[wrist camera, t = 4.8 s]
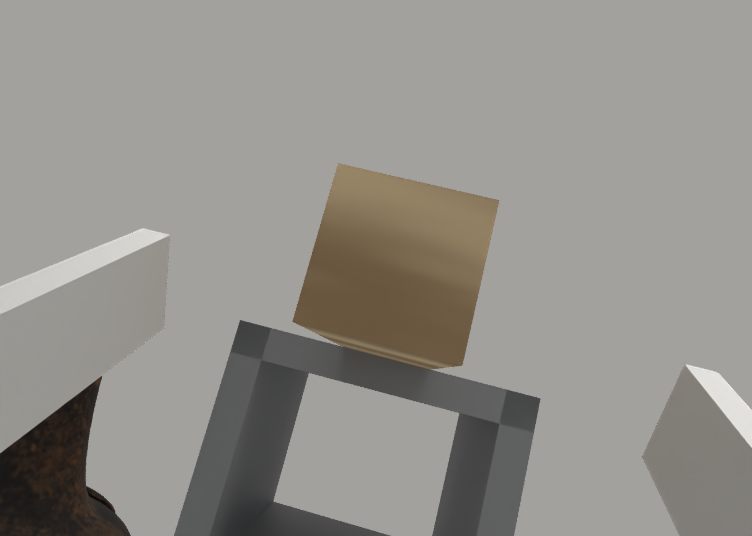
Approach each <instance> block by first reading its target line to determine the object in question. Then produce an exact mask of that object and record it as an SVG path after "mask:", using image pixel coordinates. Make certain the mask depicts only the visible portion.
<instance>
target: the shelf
mask: <svg viewBox="0 0 752 536" xmlns="http://www.w3.org/2000/svg"><path fill="white" fill-rule="evenodd" d="M309 373H312V374H315V375H319V376H323V377H327V378H330V379H334V380H338V381H342V382H345V383H349V384H353V385H357V386H360V387H364V388H368V389H372V390H375V391H379V392H383V393H387V394H390V395H394V396H398V397H402V398H405V399H409V400H413V401H416V402H420V403H424V404H428V405H431V406H435V407H439V408H443V409H446V410H450V411H454V412H458V413H459V418H458V422H457V427H456V431H455V436H454V440H453V445H452V449H451V454H450V458H449V463H448V467H447V472H446V476H445V481H444V485H443V490H442V495H441V499H440V504H439V508H438V513H437V517H436V522H435V526H434V531H433V535H432V536H514V532H515V527H516V522H517V517H518V511H519V506H520V501H521V496H522V491H523V485H524V481H525V475H526V470H527V465H528V460H529V455H530V449H531V444H532V439H533V434H534V429H535V424H536V418H537V413H538V408H539V403H540V398H537V397H533V396H529V395H525V394H521V393H517V392H513V391H510V390H506V389H502V388H498V387H494V386H491V385H487V384H483V383H479V382H475V381H471V380H467V379H464V378H460V377H456V376H452V375H448V374H444V373H441V372H437V371H433V370H429V369H425V368H422V367H418V366H414V365H410V364H406V363H402V362H399V361H395V360H391V359H387V358H383V357H379V356H376V355H372V354H368V353H364V352H360V351H356V350H353V349H349V348H345V347H341V346H337V345H333V344H330V343H326V342H322V341H318V340H314V339H310V338H306V337H303V336H299V335H295V334H291V333H288V332H283V331H280V330H276V329H272V328H268V327H264V326H260V325H257V324H253V323H249V322H245V321H242V320H240V322H239V326H238V329H237V333H236V335H235V339H234V342H233V345H232V349H231V352H230V355H229V358H228V362H227V365H226V368H225V372H224V375H223V378H222V381H221V384H220V388H219V391H218V394H217V397H216V401H215V404H214V407H213V410H212V414H211V417H210V420H209V423H208V427H207V430H206V434H205V436H204V440H203V443H202V446H201V450H200V453H199V456H198V460H197V463H196V466H195V469H194V473H193V476H192V479H191V482H190V485H189V489H188V492H187V495H186V498H185V502H184V505H183V509H182V511H181V515H180V518H179V521H178V525H177V528H176V531H175V535H174V536H389V535H386V534H382V533H379V532H376V531H372V530H369V529H365V528H362V527H358V526H355V525H351V524H348V523H345V522H341V521H338V520H334V519H330V518H328V517H324V516H320V515H317V514H314V513H310V512H307V511H303V510H300V509H297V508H293V507H290V506H286V505H283V504H279V503H276V502H273V500H274V496H275V493H276V489H277V485H278V482H279V478H280V475H281V471H282V468H283V464H284V460H285V457H286V453H287V450H288V446H289V442H290V438H291V435H292V431H293V428H294V424H295V421H296V417H297V413H298V410H299V406H300V403H301V399H302V395H303V392H304V388H305V385H306V381H307V377H308V374H309Z"/></svg>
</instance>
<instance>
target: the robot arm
mask: <svg viewBox="0 0 752 536" xmlns="http://www.w3.org/2000/svg"><path fill="white" fill-rule="evenodd" d="M169 244H170V235H168V234H164V233H160V232H156V231H152V230H148V229H144V228H142V229H140V230H137V231H135V232H132V233H130V234H128V235H125V236H123V237H120V238H118V239H116V240H113V241H110V242H108V243H105V244H103V245H101V246H98V247H96V248H93V249H91V250H88V251H86V252H83V253H81V254H79V255H76V256H74V257H71V258H69V259H66V260H64V261H61V262H59V263H57V264H54V265H51V266H49V267H47V268H44V269H42V270H39V271H37V272H34V273H32V274H30V275H27V276H24V277H22V278H20V279H17V280H15V281H12V282H10V283H7V284H5V285H2V286H0V453H1V452H2V451H4V450H5V449H6V448H8V447H9V446H10V445H12V444H13V443H14V442H16V441H17V440H18V439H19V438H21V437H22V436H23V435H25V434H26V433H27V432H29V431H30V430H31V429H33V428H34V427H35V426H36V425H38V424H39V423H40V422H42V421H43V420H44V419H46V418H47V417H48V416H50V415H51V414H52V413H54V412H55V411H56V410H57V409H59V408H60V407H61V406H63V405H64V404H65V403H67V402H68V401H69V400H71V399H72V398H73V397H75V396H76V395H77V394H78V393H80V392H81V391H82V390H84V389H85V388H86V387H88V386H89V385H90V384H92V383H93V382H94V381H96V380H97V379H98V378H99V377H101V376H102V375H103V374H105V373H106V372H107V371H108V370H110V369H111V368H112V367H114V366H115V365H117V364H118V363H119V362H120V361H122V360H123V359H124V358H126V357H127V356H128V355H129V354H131V353H132V352H134V351H135V350H136V349H137V348H139V347H140V346H141V345H143V344H144V343H145V342H147V341H148V340H149V339H151V338H152V337H153V336H155V335H156V334H157V333H158V332H160V331H161V330H162V329H163V328H164V320H165V305H166V289H167V274H168V259H169ZM642 458H643V460H644V462H645V464H646V466H647V468H648V470H649V472H650V475H651V477H652V479H653V481H654V483H655V485H656V487H657V489H658V491H659V494H660V496H661V498H662V500H663V502H664V504H665V506H666V508H667V510H668V513H669V515H670V517H671V519H672V521H673V523H674V525H675V527H676V529H677V531H678V533H679V535H680V536H752V410H751V409H750V408H749V407H748V405H747V404H746V403H745V402H744V401H743V400H742V399H741V398H740V397H739V395H738V394H737V393H736V392H735V391H734V390H733V389H732V388H731V387H730V385H729V384H728V383H727V382H726V381H725V380H724V379H723V377H722V376H721V375H720V374H719V373H718V372H715V371H711V370H706V369H703V368H698V367H695V366H690V365H686V364H684V367H683V369H682V371H681V373H680V375H679V377H678V380H677V382H676V384H675V386H674V388H673V391H672V393H671V395H670V397H669V399H668V401H667V404H666V406H665V408H664V410H663V412H662V415H661V417H660V419H659V421H658V423H657V425H656V428H655V430H654V432H653V434H652V436H651V439H650V441H649V443H648V445H647V447H646V449H645V452H644V454H643V456H642Z"/></svg>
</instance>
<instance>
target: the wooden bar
mask: <svg viewBox="0 0 752 536" xmlns="http://www.w3.org/2000/svg"><path fill="white" fill-rule="evenodd" d="M498 204H499V200H496V199H491V198H487V197H482V196H478V195H474V194H469V193H465V192H461V191H456V190H452V189H448V188H443V187H439V186H435V185H430V184H426V183H422V182H417V181H413V180H408V179H404V178H400V177H395V176H391V175H387V174H382V173H378V172H373V171H369V170H365V169H361V168H356V167H352V166H347V165H343V164H338V165H337V169H336V172H335V176H334V179H333V183H332V186H331V190H330V193H329V197H328V200H327V203H326V207H325V211H324V214H323V217H322V221H321V224H320V228H319V231H318V235H317V239H316V242H315V245H314V249H313V252H312V256H311V259H310V262H309V266H308V269H307V273H306V276H305V280H304V283H303V287H302V290H301V294H300V297H299V301H298V304H297V308H296V311H295V315H294V318H293V322H294V323H296V324H299V325H300V326H302V327H305V328H306V329H309V330H310V331H312V332H315V333H316V334H319V335H320V336H322V337H324V338H327V339H328V340H330V341H333V342H334V343H336V344H338V345H340V346H343V347H345V348H349V349H353V350H356V351H360V352H364V353H368V354H372V355H376V356H379V357H383V358H387V359H391V360H395V361H399V362H402V363H406V364H410V365H414V366H418V367H422V368H425V369H429V370H431V369H438V368H446V367H455V366H462V364H463V360H464V355H465V351H466V347H467V342H468V338H469V333H470V329H471V324H472V320H473V316H474V311H475V306H476V302H477V298H478V293H479V289H480V284H481V280H482V275H483V270H484V266H485V262H486V257H487V253H488V248H489V244H490V240H491V235H492V230H493V226H494V222H495V217H496V213H497V208H498Z"/></svg>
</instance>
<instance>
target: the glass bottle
mask: <svg viewBox="0 0 752 536" xmlns="http://www.w3.org/2000/svg"><path fill="white" fill-rule="evenodd" d="M101 379H102V376H101V377H99V378H98V379H97V380H96V381H94V382H93V383H92V384H90V385H89V386H88V387H86V388H85V389H84V390H82V391H81V392H80V393H78V394H77V395H76V396H75V397H73V398H72V399H71V400H69V401H68V402H67V403H65V404H64V405H63V406H61V407H60V408H59V409H57V410H56V411H55V412H54V413H52V414H51V415H50V416H48V417H47V418H46V419H44V420H43V421H42V422H40V423H39V424H38V425H36V426H35V427H34V428H33V429H31V430H30V431H29V432H27V433H26V434H25V435H23V436H22V437H21V438H19V439H18V440H17V441H16V442H14V443H13V444H12V445H10V446H9V447H8V448H6V449H5V450H4V451H2V452H1V453H0V536H131V535H130V533H129V531H128V529H127V528H126V526H125V524H124V523H123V521H121V519H120V518H119V517H118V516H117V515H116V514H115V510H114V508H113V506H112V504H111V503H110V502H109V501H108V500H107V499H106V498H104V496H102V495H101V494H99V493H97V492H96V491H95V490H93V489H91V488H89V487H87V486H86V476H85V475H86V456H87V449H88V440H89V434H90V428H91V423H92V417H93V412H94V407H95V403H96V399H97V395H98V391H99V386H100V382H101Z"/></svg>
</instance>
